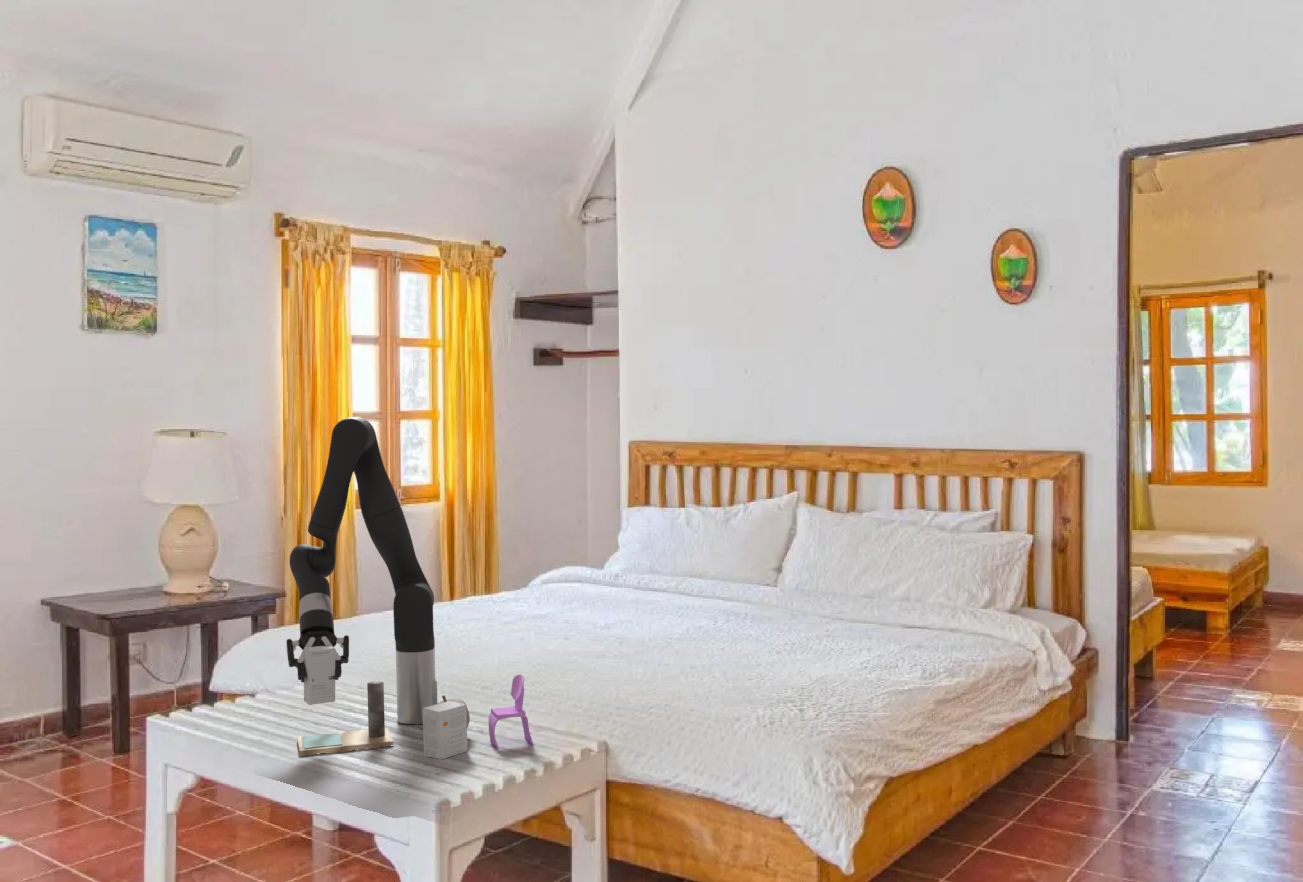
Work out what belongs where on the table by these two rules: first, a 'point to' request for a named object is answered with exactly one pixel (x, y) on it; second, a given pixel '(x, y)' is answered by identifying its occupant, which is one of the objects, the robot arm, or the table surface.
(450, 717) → the small box
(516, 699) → the toy chair
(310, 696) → the skincare box
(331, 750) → the board
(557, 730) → the table surface
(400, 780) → the table surface
